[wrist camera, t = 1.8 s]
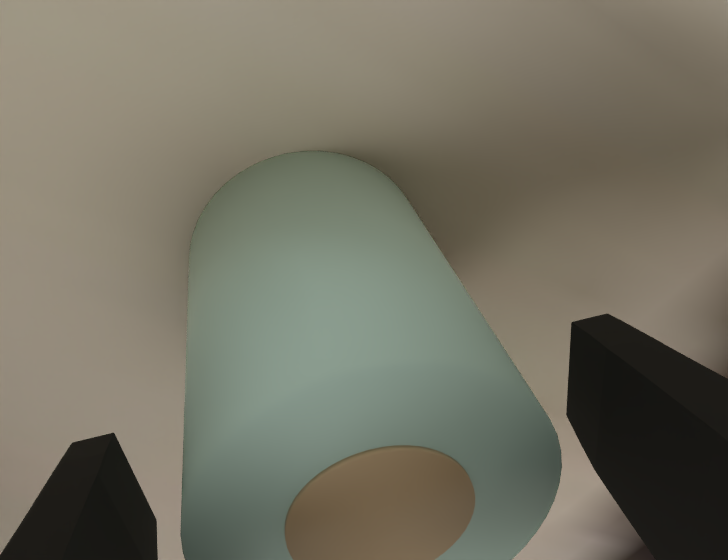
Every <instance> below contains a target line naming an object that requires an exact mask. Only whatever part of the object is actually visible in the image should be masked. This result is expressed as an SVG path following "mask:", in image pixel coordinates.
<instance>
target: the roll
mask: <svg viewBox="0 0 728 560" xmlns="http://www.w3.org/2000/svg"><path fill="white" fill-rule="evenodd" d="M561 468H562V463H561V449H560V444H559V440H558V436H557V433H556V431H555V429H554V427H553V425H552V423H551V420H550V419H549V417H548V416H547V414H546V413H545V411H544V409H543V408H542V406H541V405H540V403H539V402H538V400H537V399H536V397H535V396H534V394H533V392H532V391H531V389H530V388H529V386H528V385H527V383H526V382H525V380H524V379H523V377H522V376H521V374H520V372H519V371H518V369H517V368H516V366H515V365H514V363H513V362H512V360H511V359H510V357H509V355H508V354H507V352H506V351H505V349H504V348H503V346H502V345H501V343H500V342H499V340H498V338H497V337H496V335H495V334H494V332H493V331H492V329H491V328H490V326H489V325H488V323H487V322H486V320H485V318H484V317H483V315H482V314H481V312H480V311H479V309H478V308H477V306H476V305H475V303H474V301H473V300H472V298H471V297H470V295H469V294H468V292H467V291H466V289H465V288H464V286H463V284H462V283H461V281H460V280H459V278H458V277H457V275H456V274H455V272H454V271H453V269H452V268H451V266H450V264H449V263H448V261H447V260H446V258H445V257H444V255H443V254H442V252H441V251H440V249H439V247H438V246H437V244H436V243H435V241H434V240H433V238H432V237H431V235H430V234H429V232H428V231H427V229H426V227H425V226H424V224H423V223H422V221H421V220H420V218H419V217H418V215H417V214H416V212H415V210H414V209H413V207H412V206H411V204H410V203H409V201H408V200H407V198H406V197H405V195H404V194H403V193H402V191H401V190H400V189H399V187H398V186H397V185H396V184H395V183H394V182H393V181H392V180H391V179H390V178H388V177H387V176H386V175H385V174H383V173H382V172H381V171H379V170H378V169H376V168H374V167H373V166H371V165H369V164H367V163H366V162H363V161H361V160H358V159H356V158H353V157H350V156H346V155H342V154H338V153H332V152H324V151H301V152H294V153H287V154H283V155H279V156H276V157H272V158H269V159H266V160H264V161H261V162H259V163H257V164H254V165H252V166H251V167H249V168H247V169H245V170H244V171H242V172H240V173H239V174H237V175H236V176H235V177H233V178H232V179H231V180H229V181H228V182H227V183H226V184H225V185H224V186H223V187H222V188H221V189H220V190H219V191H218V192H217V193H216V194H215V195H214V196H213V198H212V199H211V200H210V201H209V203H208V204H207V205H206V207H205V209H204V210H203V212H202V214H201V216H200V217H199V219H198V222H197V224H196V227H195V229H194V232H193V235H192V240H191V244H190V253H189V276H188V309H187V342H186V375H185V408H184V441H183V474H182V506H181V541H182V549H183V554H184V557H185V560H512V559H513V558H514V557H515V556H516V555H517V554H518V553H519V552H520V551H521V550H522V549H523V548H524V547H525V546H526V544H527V543H528V542H529V541H530V539H531V538H532V537H533V536H534V534H535V533H536V532H537V530H538V529H539V527H540V526H541V524H542V523H543V521H544V519H545V518H546V516H547V514H548V512H549V510H550V508H551V506H552V504H553V502H554V499H555V496H556V493H557V490H558V486H559V483H560V475H561Z"/></svg>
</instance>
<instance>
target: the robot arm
mask: <svg viewBox="0 0 728 560" xmlns="http://www.w3.org/2000/svg"><path fill="white" fill-rule="evenodd" d="M566 415H567V417H568V419H569V421H570V423H571V425H572V427H573V429H574V431H575V433H576V435H577V437H578V439H579V441H580V443H581V445H582V447H583V449H584V451H585V453H586V455H587V456H588V458H589V460H590V462H591V464H592V466H593V468H594V470H595V471H596V473H597V474H598V476H599V477H600V479H601V480H602V482H603V483H604V485H605V486H606V488H607V489H608V491H609V492H610V494H611V495H612V497H613V498H614V499H615V501H616V502H617V504H618V505H619V507H620V508H621V510H622V511H623V513H624V514H625V516H626V517H627V519H628V520H629V521H630V523H631V524H632V526H633V527H634V529H635V530H636V532H637V533H638V535H639V536H640V537H641V539H642V540H643V542H644V543H645V545H646V546H647V548H648V549H649V550H650V552H651V553H652V555H653V556H654V558H655V559H656V560H728V379H727V378H725V377H723V376H721V375H719V374H718V373H716V372H714V371H712V370H710V369H708V368H706V367H705V366H703V365H701V364H699V363H697V362H695V361H694V360H692V359H690V358H688V357H686V356H684V355H683V354H681V353H679V352H677V351H675V350H674V349H672V348H670V347H668V346H666V345H665V344H663V343H661V342H659V341H657V340H656V339H654V338H652V337H650V336H648V335H647V334H645V333H643V332H641V331H639V330H638V329H636V328H634V327H632V326H630V325H628V324H627V323H625V322H623V321H621V320H619V319H617V318H615V317H613V316H611V315H609V314H604V315H600V316H595V317H591V318H587V319H583V320H579V321H575V322H572V323H571V341H570V359H569V377H568V395H567V413H566ZM0 560H158V555H157V522H156V518H155V516H154V514H153V512H152V510H151V508H150V506H149V504H148V502H147V500H146V498H145V496H144V493H143V491H142V489H141V487H140V485H139V483H138V481H137V479H136V477H135V475H134V473H133V471H132V469H131V467H130V465H129V463H128V461H127V458H126V456H125V454H124V452H123V450H122V448H121V446H120V444H119V442H118V440H117V438H116V436H115V434H114V433H111V434H106V435H102V436H98V437H94V438H90V439H86V440H82V441H77V442H73V443H72V444H71V445H70V447H69V448H68V450H67V451H66V453H65V454H64V456H63V457H62V459H61V461H60V462H59V464H58V465H57V467H56V468H55V470H54V471H53V473H52V475H51V476H50V478H49V479H48V481H47V483H46V484H45V486H44V487H43V489H42V491H41V492H40V494H39V495H38V497H37V499H36V500H35V502H34V503H33V505H32V507H31V508H30V510H29V511H28V513H27V514H26V516H25V518H24V519H23V521H22V522H21V524H20V526H19V527H18V529H17V530H16V532H15V533H14V535H13V536H12V538H11V539H10V541H9V542H8V544H7V545H6V547H5V549H4V550H3V552H2V553H1V555H0Z"/></svg>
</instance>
